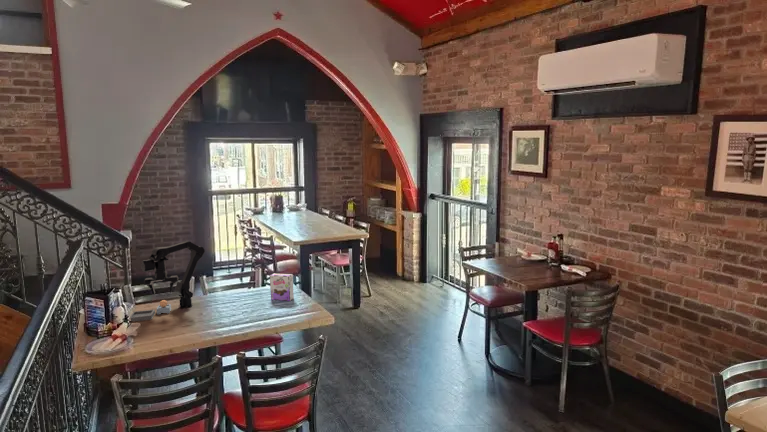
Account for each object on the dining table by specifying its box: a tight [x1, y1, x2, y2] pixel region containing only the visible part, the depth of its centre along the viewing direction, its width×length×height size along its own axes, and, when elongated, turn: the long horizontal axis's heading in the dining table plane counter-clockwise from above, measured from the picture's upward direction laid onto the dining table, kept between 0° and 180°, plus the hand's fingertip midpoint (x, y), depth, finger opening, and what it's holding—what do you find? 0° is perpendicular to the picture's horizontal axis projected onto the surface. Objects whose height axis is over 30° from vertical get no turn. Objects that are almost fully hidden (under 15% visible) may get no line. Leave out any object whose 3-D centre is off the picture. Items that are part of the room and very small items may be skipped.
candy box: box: [269, 272, 295, 302], centre depth 339 cm, size 14×6×16 cm, turn 73°
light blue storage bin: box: [156, 303, 172, 315], centre depth 320 cm, size 7×7×4 cm
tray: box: [129, 309, 156, 322], centre depth 311 cm, size 12×12×2 cm
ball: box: [159, 299, 168, 307], centre depth 320 cm, size 4×4×4 cm
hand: (162, 293), depth 319 cm, fingers open, 9 cm apart
